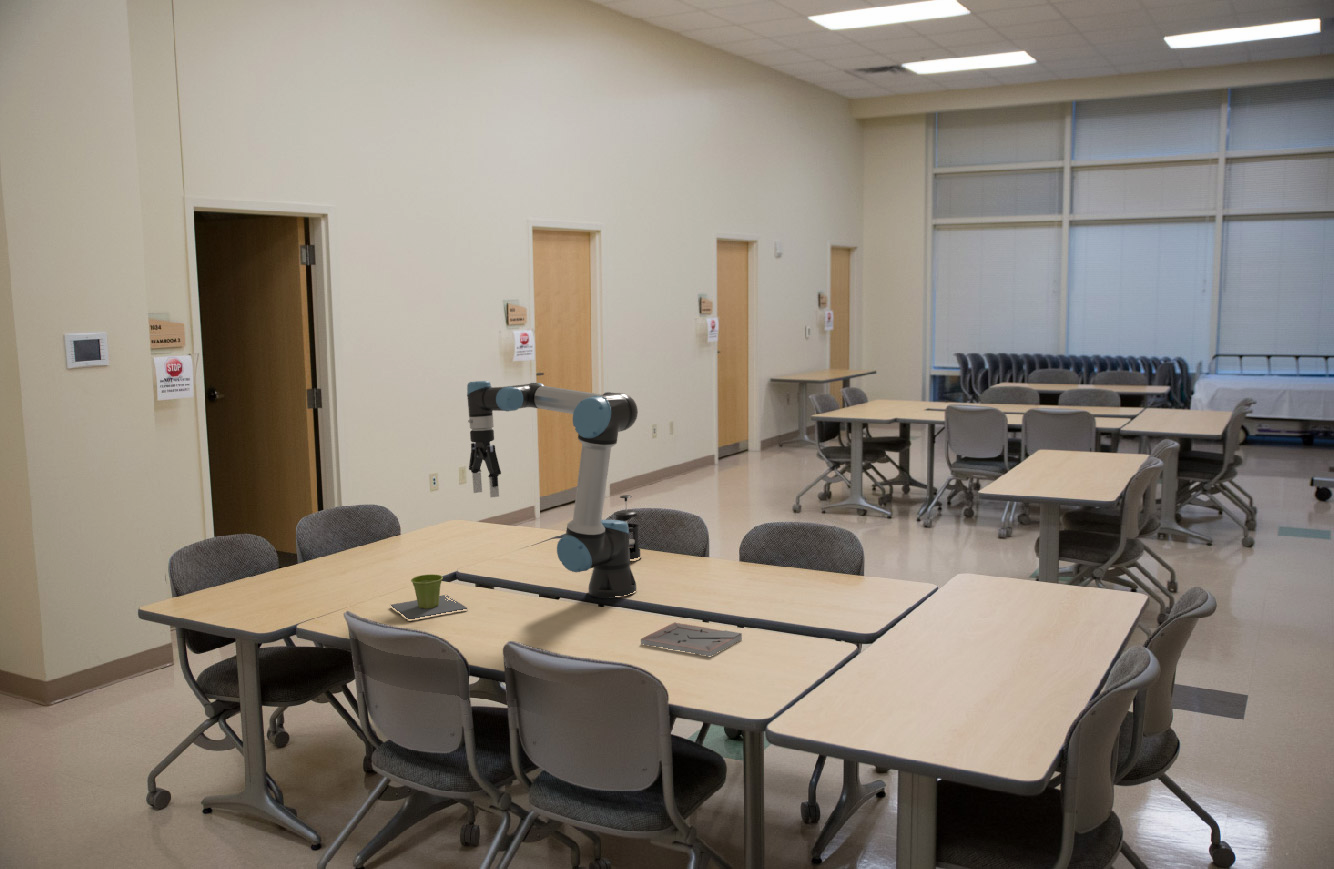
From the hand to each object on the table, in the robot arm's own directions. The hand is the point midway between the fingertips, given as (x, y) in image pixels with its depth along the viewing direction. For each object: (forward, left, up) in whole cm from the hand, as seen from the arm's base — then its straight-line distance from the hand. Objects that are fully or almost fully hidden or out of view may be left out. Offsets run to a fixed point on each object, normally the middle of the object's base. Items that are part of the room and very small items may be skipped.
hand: (486, 494), depth 338 cm
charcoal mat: (-12, +25, -31) cm, 42 cm away
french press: (+5, -54, -31) cm, 62 cm away
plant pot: (-12, +25, -30) cm, 41 cm away
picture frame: (-86, -22, -32) cm, 95 cm away
